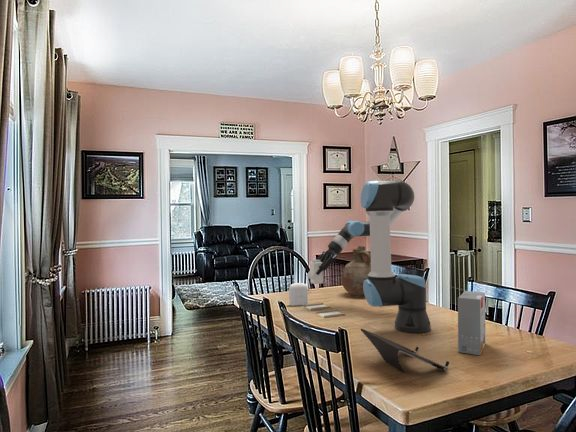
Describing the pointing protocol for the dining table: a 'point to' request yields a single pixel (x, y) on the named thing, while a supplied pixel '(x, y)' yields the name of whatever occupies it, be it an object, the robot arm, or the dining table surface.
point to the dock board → (326, 312)
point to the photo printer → (298, 294)
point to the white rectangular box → (313, 268)
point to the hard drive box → (471, 322)
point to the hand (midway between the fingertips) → (310, 277)
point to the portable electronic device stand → (396, 352)
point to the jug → (356, 272)
